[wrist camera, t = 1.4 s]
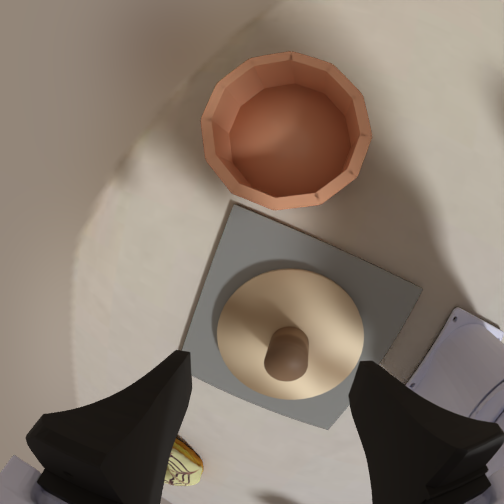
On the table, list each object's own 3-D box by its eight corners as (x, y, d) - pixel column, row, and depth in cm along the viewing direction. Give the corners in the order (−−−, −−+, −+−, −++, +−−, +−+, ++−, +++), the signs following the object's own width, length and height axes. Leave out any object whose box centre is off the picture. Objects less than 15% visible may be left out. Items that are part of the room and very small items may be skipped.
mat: (328, 427, 23) (328, 429, 22) (177, 365, 25) (176, 367, 24) (421, 287, 19) (422, 289, 19) (235, 204, 21) (233, 204, 21)
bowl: (327, 228, 20) (332, 236, 15) (205, 178, 21) (179, 173, 17) (374, 108, 17) (388, 87, 13) (252, 66, 19) (238, 39, 14)
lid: (320, 409, 22) (319, 437, 19) (203, 362, 24) (187, 385, 20) (388, 303, 19) (402, 323, 16) (249, 243, 21) (236, 252, 17)
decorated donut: (188, 480, 29) (179, 497, 26) (126, 441, 30) (113, 456, 27) (219, 457, 27) (210, 479, 23) (144, 410, 28) (129, 429, 24)
